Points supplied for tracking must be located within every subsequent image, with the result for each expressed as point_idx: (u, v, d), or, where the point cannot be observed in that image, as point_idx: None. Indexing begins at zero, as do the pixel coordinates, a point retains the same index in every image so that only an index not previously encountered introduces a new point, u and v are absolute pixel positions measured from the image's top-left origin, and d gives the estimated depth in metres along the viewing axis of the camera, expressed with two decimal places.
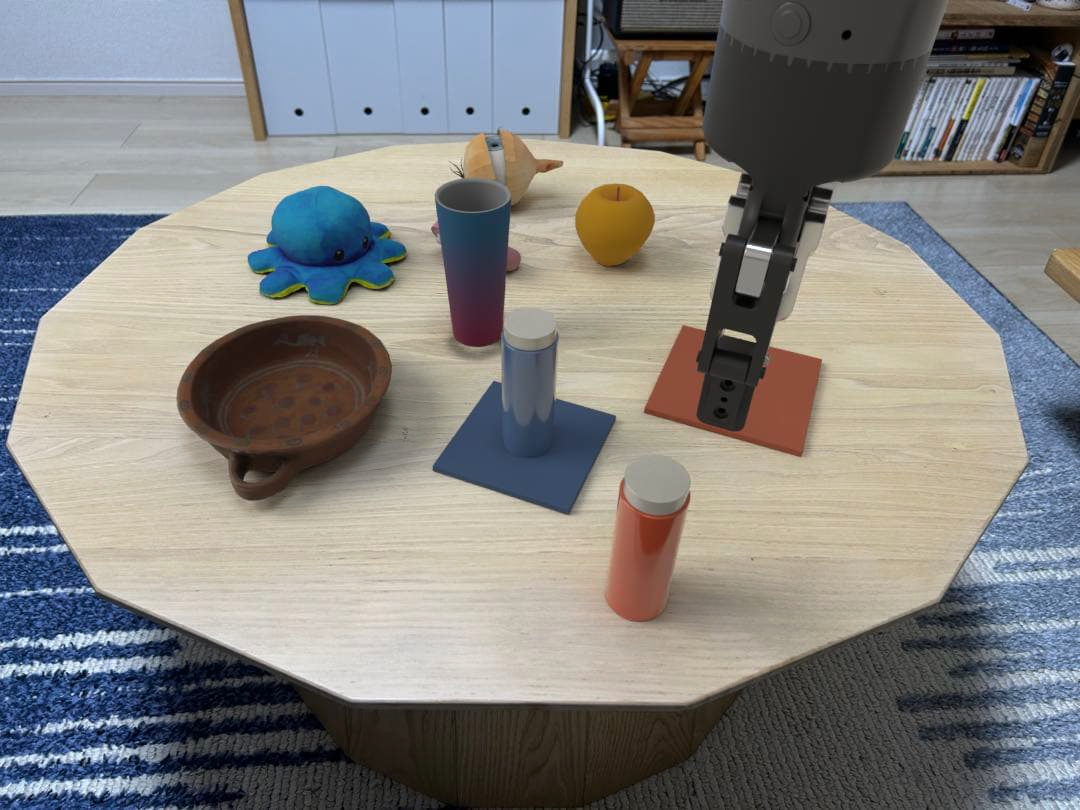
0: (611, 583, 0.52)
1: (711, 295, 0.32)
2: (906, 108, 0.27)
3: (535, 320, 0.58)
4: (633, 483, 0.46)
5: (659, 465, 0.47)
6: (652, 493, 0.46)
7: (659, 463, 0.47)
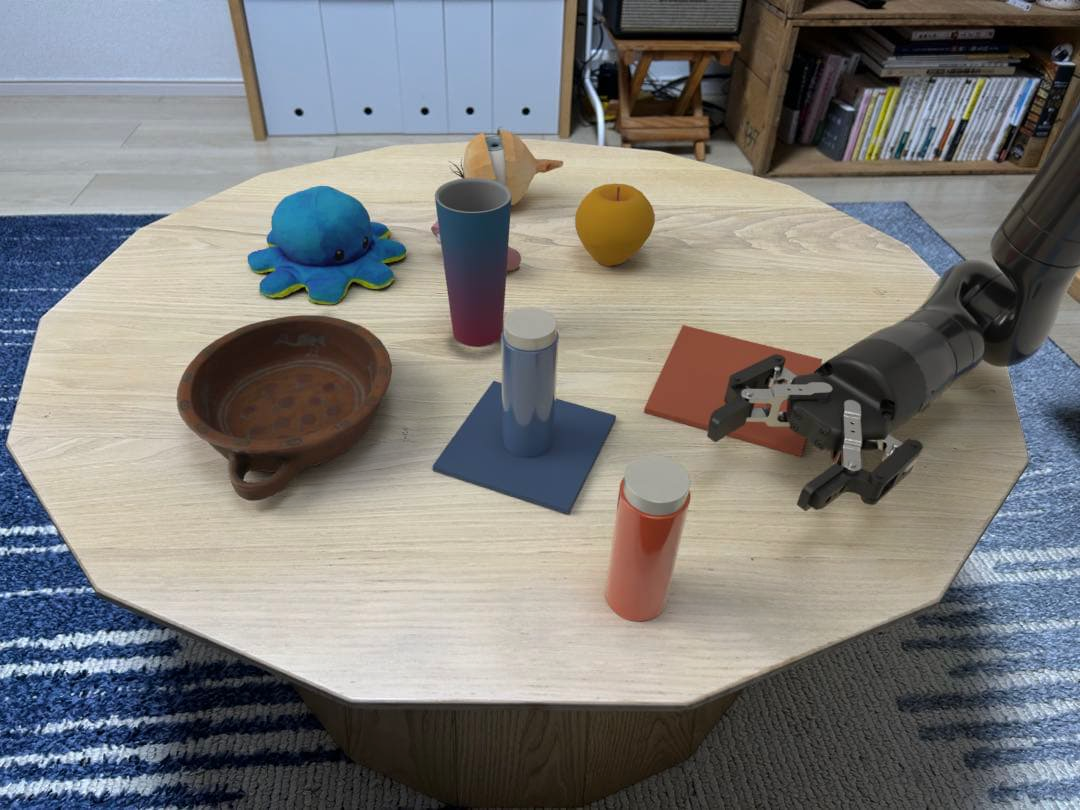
0: (611, 583, 0.52)
1: None
2: (868, 347, 0.61)
3: (535, 320, 0.58)
4: (633, 483, 0.46)
5: (659, 465, 0.47)
6: (652, 493, 0.46)
7: (659, 463, 0.47)
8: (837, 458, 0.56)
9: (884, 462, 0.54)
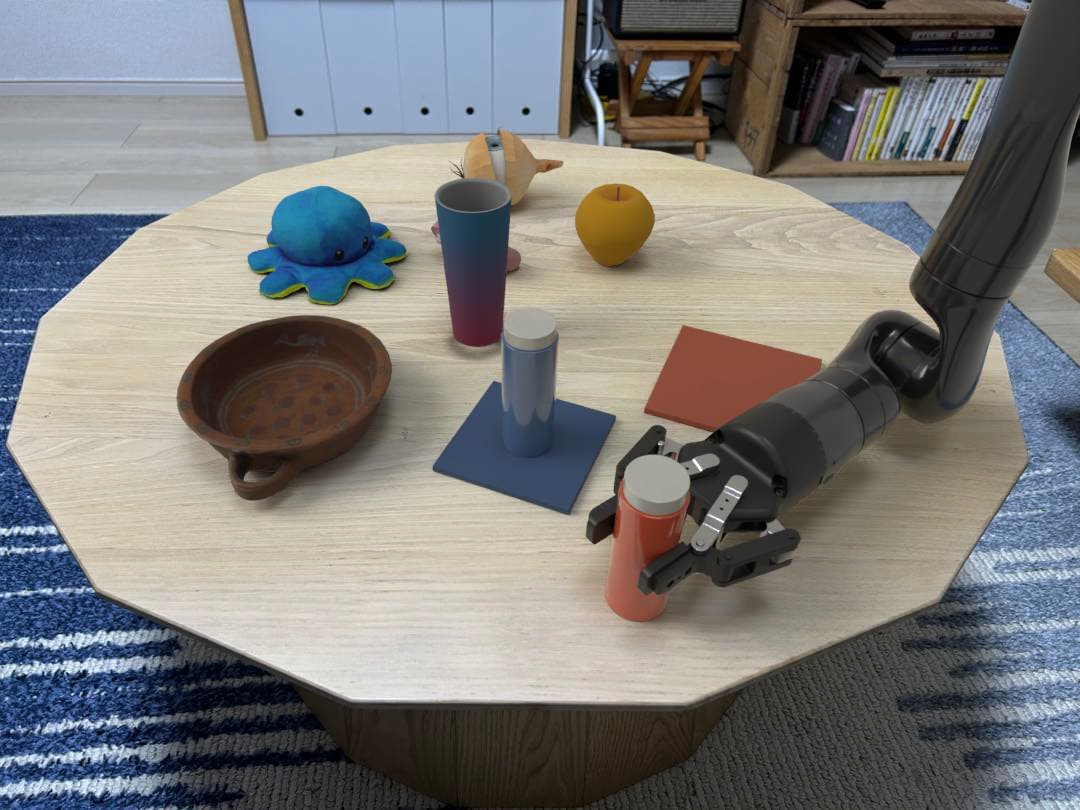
0: (611, 584, 0.52)
1: None
2: (763, 413, 0.55)
3: (535, 320, 0.58)
4: (633, 483, 0.46)
5: (659, 465, 0.47)
6: (652, 493, 0.46)
7: (658, 463, 0.47)
8: None
9: (743, 544, 0.49)
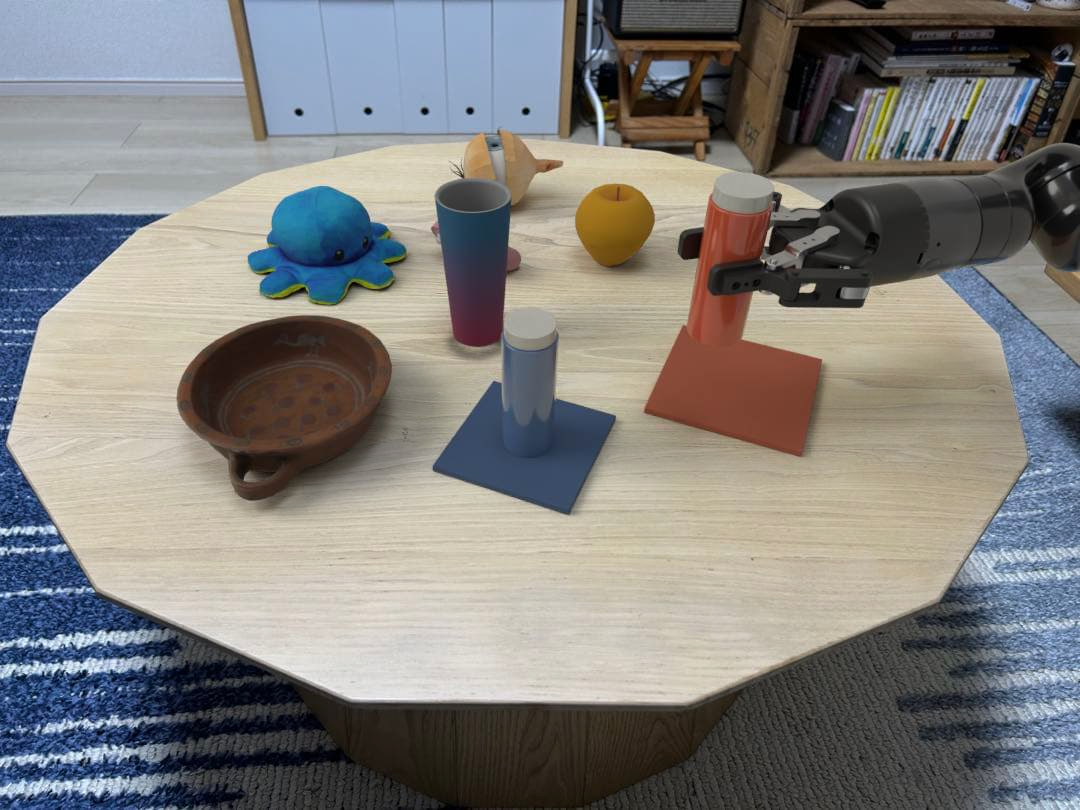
0: (691, 304, 0.58)
1: None
2: (877, 185, 0.57)
3: (535, 320, 0.58)
4: (720, 183, 0.52)
5: (750, 178, 0.53)
6: (734, 191, 0.51)
7: (750, 177, 0.53)
8: None
9: (814, 269, 0.53)
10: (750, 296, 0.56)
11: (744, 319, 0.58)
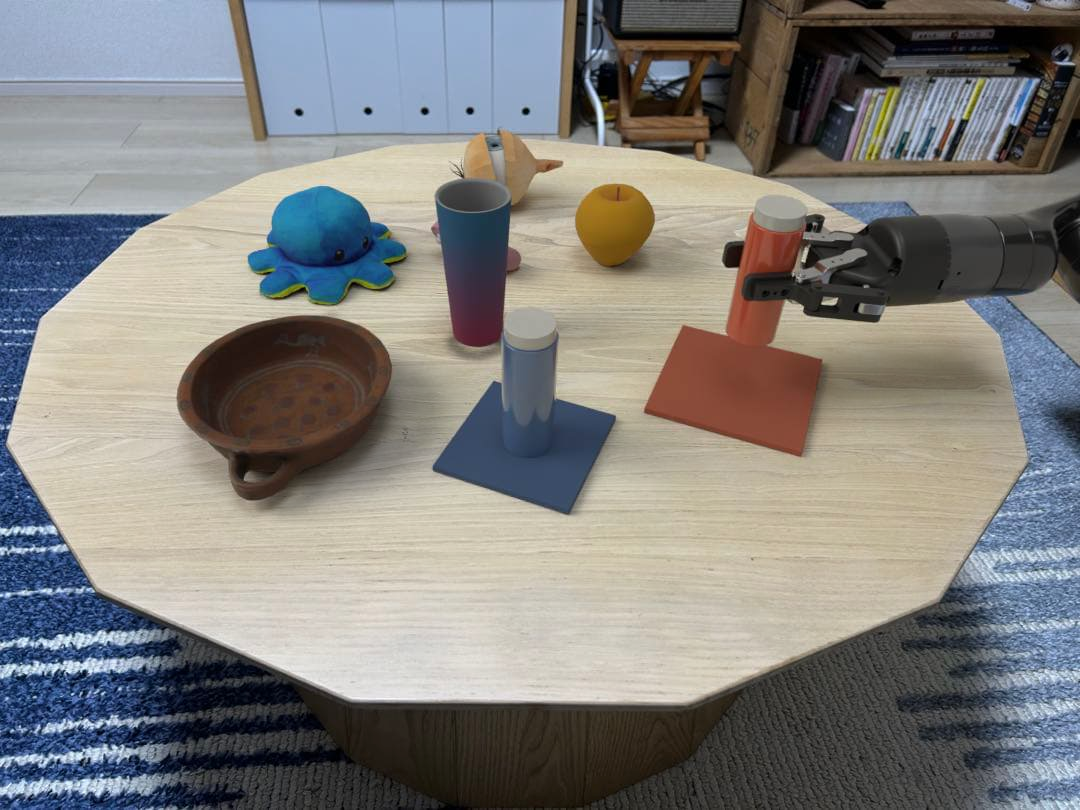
0: (730, 307, 0.67)
1: None
2: (909, 216, 0.64)
3: (535, 320, 0.58)
4: (760, 204, 0.60)
5: (788, 201, 0.61)
6: (770, 211, 0.59)
7: (788, 201, 0.61)
8: None
9: (836, 285, 0.60)
10: (781, 304, 0.64)
11: (775, 324, 0.66)
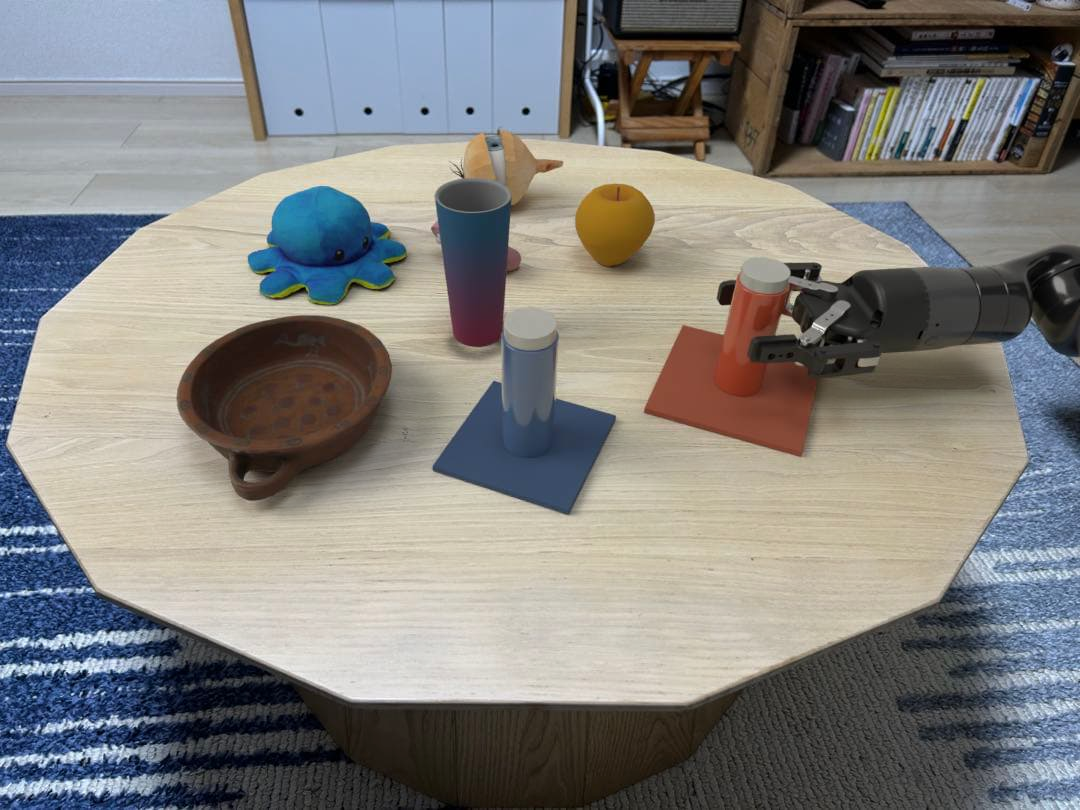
0: (718, 358, 0.71)
1: None
2: (890, 269, 0.67)
3: (535, 320, 0.58)
4: (746, 266, 0.64)
5: (772, 264, 0.65)
6: (756, 274, 0.63)
7: (773, 263, 0.65)
8: None
9: (836, 346, 0.62)
10: None
11: (761, 376, 0.69)
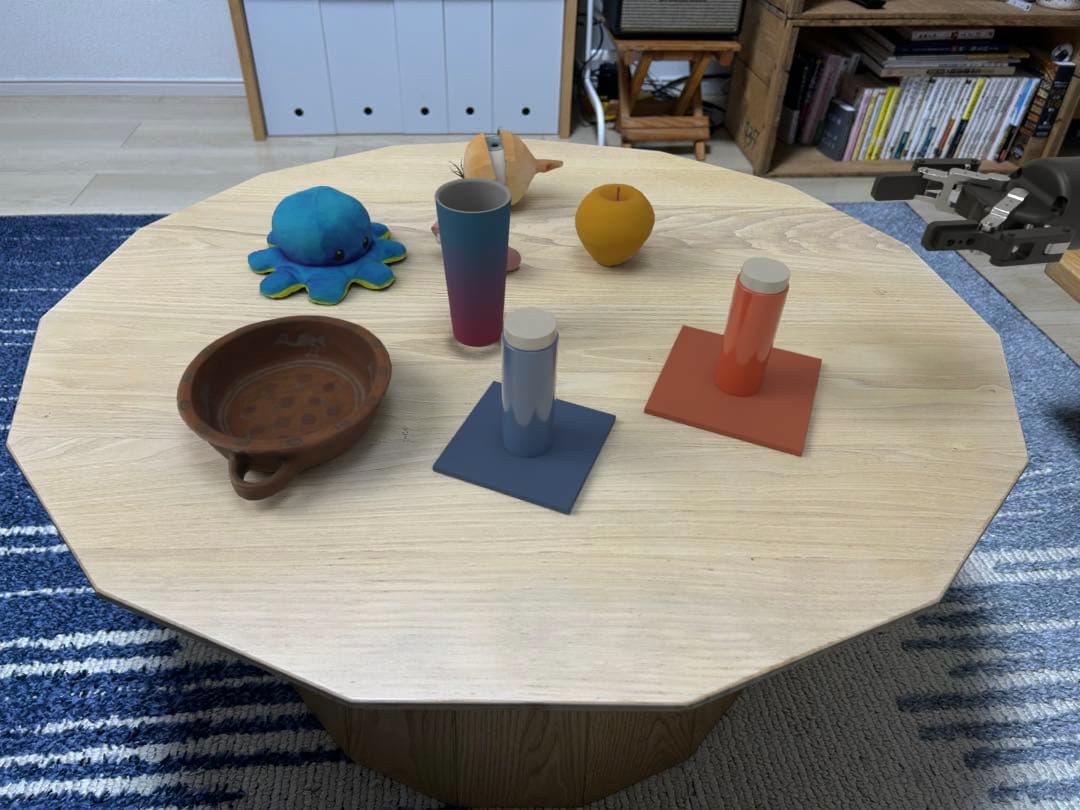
0: (718, 358, 0.71)
1: None
2: (1067, 157, 0.62)
3: (535, 320, 0.58)
4: (746, 266, 0.64)
5: (772, 264, 0.65)
6: (756, 274, 0.63)
7: (773, 263, 0.65)
8: None
9: (1023, 230, 0.57)
10: (766, 358, 0.68)
11: (761, 376, 0.69)
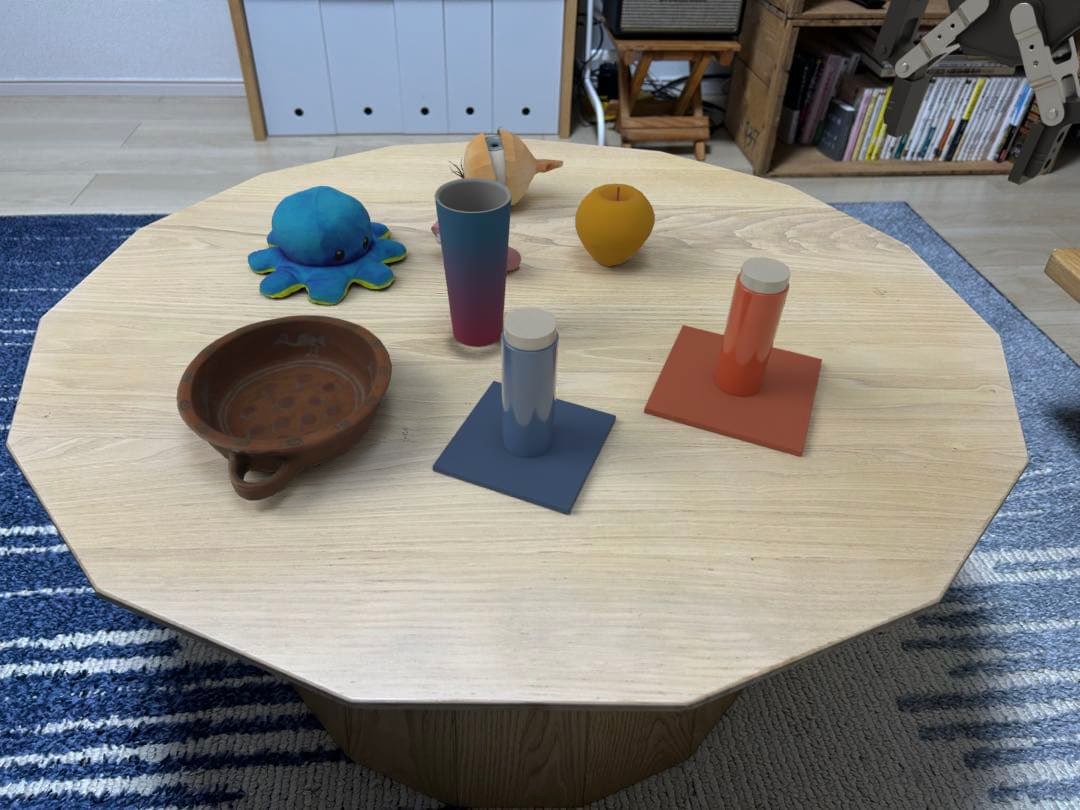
0: (718, 358, 0.71)
1: None
2: None
3: (535, 320, 0.58)
4: (746, 266, 0.64)
5: (772, 264, 0.65)
6: (756, 274, 0.63)
7: (773, 263, 0.65)
8: None
9: None
10: (766, 358, 0.68)
11: (761, 376, 0.69)
